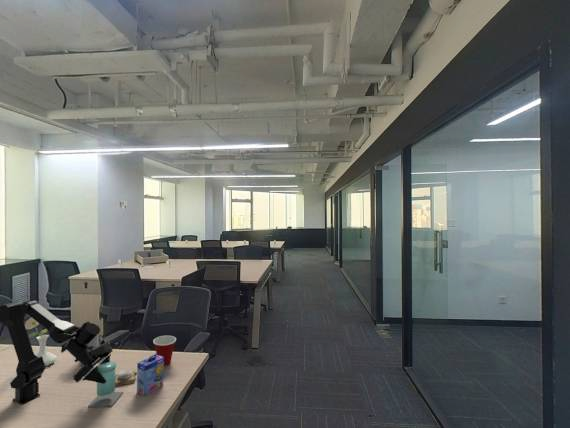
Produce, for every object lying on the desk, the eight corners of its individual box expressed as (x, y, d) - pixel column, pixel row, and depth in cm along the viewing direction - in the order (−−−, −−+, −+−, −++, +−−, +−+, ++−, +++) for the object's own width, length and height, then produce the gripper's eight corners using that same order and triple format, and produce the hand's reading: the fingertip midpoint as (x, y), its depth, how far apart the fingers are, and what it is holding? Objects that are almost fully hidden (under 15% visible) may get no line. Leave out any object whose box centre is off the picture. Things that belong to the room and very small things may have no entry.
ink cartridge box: (144, 396, 126) (145, 360, 126) (136, 392, 128) (136, 357, 129) (164, 384, 135) (164, 351, 135) (156, 381, 137) (156, 348, 137)
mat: (88, 407, 118) (88, 405, 118) (100, 394, 127) (100, 392, 127) (112, 406, 119) (112, 404, 119) (123, 393, 128) (123, 391, 128)
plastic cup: (163, 370, 147) (163, 345, 147) (148, 365, 152) (148, 341, 152) (181, 361, 156) (181, 337, 156) (166, 356, 162) (166, 333, 162)
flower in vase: (53, 357, 161) (53, 309, 162) (59, 363, 154) (60, 313, 154) (20, 366, 151) (21, 315, 152) (26, 374, 144) (26, 320, 144)
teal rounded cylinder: (99, 398, 118) (99, 371, 119) (93, 391, 123) (93, 366, 123) (118, 390, 124) (118, 365, 124) (112, 384, 128) (112, 360, 128)
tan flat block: (112, 386, 133) (112, 379, 133) (114, 377, 140) (114, 371, 140) (136, 382, 137) (136, 375, 137) (137, 373, 144) (137, 367, 144)
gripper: (82, 346, 114) (112, 375, 114) (108, 328, 133) (134, 353, 133) (59, 368, 113) (90, 397, 114) (89, 346, 132) (115, 372, 133)
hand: (109, 378), depth 123 cm, fingers closed on teal rounded cylinder, 6 cm apart
